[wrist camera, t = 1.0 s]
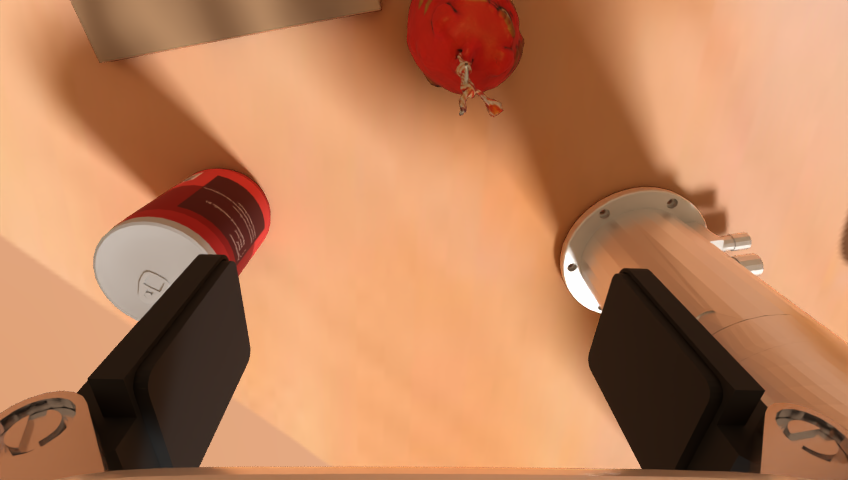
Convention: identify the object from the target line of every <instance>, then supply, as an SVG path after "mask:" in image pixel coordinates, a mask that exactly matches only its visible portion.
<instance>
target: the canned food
mask: <svg viewBox="0 0 848 480" xmlns="http://www.w3.org/2000/svg"><path fill="white" fill-rule="evenodd" d="M269 226H270V207H269V203H268V201H267V198H266V196H265V194H264V193H263V191H262V190H261V188H260V187H259V186H258V185H257V184H256V183H255V182H254V181H253V180H251V179H250V178H249V177H247V176H245V175H243V174H241V173H239V172H236V171H233V170H230V169H221V168H220V169H206V170H203V171H199V172H197V173H195V174H193V175H192V176H190V177H188V178H187V179H185V180H184V181H182V182H181V183H179V184H178V185H176V186H174V187H173V188H171V189H170V190H168V191H167V192H165V193H164V194H162V195H161V196H159V197H158V198H156V199H155V200H153V201H152V202H150V203H148V204H147V205H145V206H144V207H142V208H141V209H139V210H138V211H136V212H135V213H133V214H132V215H130V216H129V217H127V218H126V219H124V220H123V221H122V222H120V223H119V224H117V225H116V226H114V227H113V228H112V229H111V230H110V231H109V232H108V233H107V234H106V235H105V236H104V237H103V238H102V239H101V240H100V242H99V243H98V245H97V247H96V250H95V253H94V260H93V268H94V272H95V277H96V280H97V282H98V284H99V286H100V288H101V290H102V291H103V293H104V294H105V296H106V297H107V298H108V299H109V300H110V301H111V302H112V303H113V304H114V306H116V307H117V308H118V309H119V310H121V311H122V312H123V313H125V314H126V315H128V316H130V317H132V318H133V319H135V320H137V321H140V319H141V318H142V317H143V316H144V315H145V314H146V313H147V312H148V310H149V309H150V308H151V307H152V306H153V305H154V304H155V303H156V301H157V300H158V299H159V298H160V297H161V296H162V295H163V294H164V293H165V291H166V290H167V289H168V288H169V287H170V286H171V285H172V284H173V282H174V281H175V280H176V279H177V278H178V277H179V276H180V275H181V274H182V272H183V271H184V270H185V269H186V268H187V267H188V266H189V265H190V263H191V262H192V261H193V260H194V259H195V258H196V257H197V256H198V255H199V254H218V255H226V256H227V257H228V259H229V261H234V262H235V263H236V266H237V272H238V276H239V275H240V273H241V272H242V270H243V269H244V267H245V266H246V265H247V263H248V262H249V260H250V259H251V258H252V256H253V255H254V253H255V252H256V250H257V249H258V248H259V246H260V245H261V243H262V242H263V240H264V239H265V237H266V235H267V233H268V231H269Z"/></svg>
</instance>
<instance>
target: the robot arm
mask: <svg viewBox="0 0 848 480" xmlns="http://www.w3.org/2000/svg"><path fill="white" fill-rule="evenodd" d="M602 210H603V211H602ZM601 211H602V212H601ZM750 246H751V238H750V236H749V235H748V234H747V233H745V232H743V233H736V234H729V235H727V236H721V237H719V236H718V235H716V234H714V233H712V232H711V231H710V230H708V229H707V225H706V222H705V219H704V218H703V216H702V214H701V212H700V211H699V210H698V209H697V208H696V207H695V206H694V205H693V204H692V203H691V202H690V201H688V200H687V199H685V198H684V197H682V196H681V195H679V194H677V193H674V192H672V191H670V190H666V189H662V188H657V187H639V188H632V189H627V190H624V191H621V192H617V193H614V194H612V195H610V196H608V197H606V198H604V199H602V200H600V201H599V202H597V203H596V204H595V205H593V206H592V207H590V208H589V209H588V210H587V211H586V212H585V213H584V214H583V215H582V216H581V217H580V218H579V219H578V220H577V221H576V222H575V224H574V225H573V226H572V228H571V229H570V231H569V232H568V234H567V237H566V239H565V241H564V243H563V247H562V251H561V255H560V269H561V274H562V278H563V280H564V282H565V285H566V287H567V288H568V290H569V291H570V293H571V295H572V296H573V297H574V298H575V299H576V300H577V301H578V302H579V303H580V304H581V305H583V306H585V307H586V308H588V309H589V310H592V311H594V312H597V313H600V314H601V316H600V319H599V323H598V326H597V329H596V332H595V336H594V339H593V342H592V346H591V349H590V352H589V356H588V361H589V367H590V370H591V372H592V373H593V375H594V377H595V379H596V381H597V383H598V385H599V387H600V389H601V391H602V393H603V395H604V397H605V399H606V401H607V402H608V404H609V406H610V408H611V410H612V412H613V414H614V416H615V418H616V420H617V422H618V424H619V426H620V428H621V430H622V431H623V433H624V435H625V437H626V439H627V441H628V443H629V445H630V447H631V449H632V451H633V453H634V455H635V457H636V458H637V460H638V462H639V464H640V466H641V468H642V469H584V468H490V467H199V466H200V464H201V462H202V460H203V457H204V455H205V453H206V451H207V449H208V447H209V445H210V442H211V440H212V438H213V436H214V434H215V432H216V430H217V428H218V425H219V423H220V421H221V419H222V417H223V415H224V413H225V410H226V408H227V406H228V404H229V402H230V400H231V398H232V396H233V393H234V391H235V389H236V387H237V385H238V383H239V381H240V379H241V376H242V374H243V372H244V370H245V368H246V366H247V364H248V361H249V357H250V343H249V337H248V331H247V325H246V319H245V313H244V307H243V301H242V295H241V289H240V283H239V278H238V272H237V266H236V263H235V262H234V261H229V259H228V257H227V256H226V255H218V254H199V255H198V256H197V257H196V258H195V259H194V260H193V261H192V262H191V263H190V265H189V266H188V267H187V268H186V269H185V270H184V271H183V272H182V274H181V275H180V276H179V277H178V278H177V279H176V280H175V281H174V282H173V284H172V285H171V286H170V287H169V288H168V289H167V290H166V291H165V293H164V294H163V295H162V296H161V297H160V298H159V299H158V300H157V301H156V303H155V304H154V305H153V306H152V307H151V308H150V309H149V310H148V312H147V313H146V314H145V315H144V316H143V317H142V318H141V319H140V321H139V322H138V323H137V324H136V325H135V326H134V327H133V328H132V329H131V331H130V332H129V333H128V334H127V335H126V336H125V337H124V339H123V340H122V341H121V342H120V343H119V344H118V345H117V346H116V347H115V348H114V350H113V351H112V352H111V353H110V354H109V355H108V356H107V358H106V359H105V360H104V361H103V362H102V363H101V364H100V365H99V366H98V367H97V369H96V370H95V371H94V372H93V373H92V374H91V375H90V376H89V378H88V381H87V382H86V383H85V384H84V385H83V386H82V388H81V389H80V390H79V391H78V392H77V393H75V392H69V391H56V392H49V393H44V394H41V395H37V396H34V397H31V398H28V399H26V400H24V401H22V402H19V403H17V404H15V405H13V406H11V407H9V408H8V409H6V410H5V411H3V412H1V413H0V480H848V343H847V342H845V341H844V340H843V339H841V338H840V337H839V336H837V335H836V334H835V333H833V332H832V331H830V330H829V329H828V328H826V327H825V326H824V325H822V324H820V323H819V322H818V321H816V320H815V319H814V318H812V317H811V316H810V315H808V314H807V313H806V312H804V311H803V310H802V309H800V308H799V307H798V306H796V305H795V304H793V303H792V302H791V301H789V300H788V299H787V298H785V297H784V296H783V295H781V294H780V293H779V292H777V291H776V290H775V289H773V288H772V287H771V286H769V285H768V284H766V283H765V282H764V281H762V280H761V279H760V278H758V277H757V276H759V275H761V274H762V272H763V262H762V260H761V258H760V257H759V256H758V255H756V254H754V253H752V254H745V255H738V256H732V257H730V256H729V255H727V254H726V253H725V252H724V251H736V250H743V249H748V248H750Z"/></svg>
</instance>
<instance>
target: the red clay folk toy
mask: <svg viewBox="0 0 848 480" xmlns="http://www.w3.org/2000/svg"><path fill="white" fill-rule="evenodd" d="M407 28H408V34H407V44H408V47H409V50H410V52H411V54H412V56H413V58H414V60H415V62H416V64H417V65H418V67H419V68H420V69H421V70H422V72H423V73H424V75H425V76H426V78H427V80H428V81H429V82H430V83H431V84H432V85H434V86H436V87H443V88H445V89H447V90H449V91H450V92H453V93H457V94H461V98H460V101H459V105H460V113H459V115H460V116H461V115H463V113H465V112H466V109H467V107H466V101H467V99H466V98H468V97H470V98H473V97H474V96H475V94H477V95H478V96H480V97H481V98H482V100H483V101H484V102H485V104H486V107H487V110H488V112H489V115H490V116H493V117H494V116H496V115H498V114H499V113H501V112H502V111H503V109H502V104H501V103H500V102H498V101H496V100H494V99H489V98H488V97H487V96H486V95H485V94H484V93H483V92H484V91H486V90H490V89H493V88H495V87H497V86H498V85H500V84H501V83H502V82H504V81H505V80H506V79H507V78H508V77H509V76H510V74H511V73H512V72H513V71H514V70H515V68H516V67H517V65H518V63H519V61H520V58H521V55H522V50H523V46H524V39H523V38H522V36H521V34H520V32H519V19H518V15H517V12H516V9H515V7H514V4H513V3H512V1H511V0H412V2H411V5H410V8H409V14H408V24H407Z"/></svg>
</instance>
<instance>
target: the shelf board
mask: <svg viewBox="0 0 848 480" xmlns="http://www.w3.org/2000/svg"><path fill="white" fill-rule="evenodd" d="M70 1H71V3H72V5H73V8H74V10H75V12H76V14H77V16H78V18H79V20H80V22H81V24H82V27H83V29H84V31H85V33H86V35H87V37H88V39H89V41H90V43H91V46H92V48H93V50H94V52H95V54H96V56H97V58H98V60H99V62H100V63H102V62H111V61H116V60H121V59H126V58H132V57H137V56H142V55H148V54H153V53H158V52H163V51H169V50H174V49H179V48H184V47H190V46H195V45H200V44H205V43H211V42H216V41H221V40H226V39H232V38H237V37H242V36H247V35H253V34H258V33H263V32H268V31H274V30H279V29H284V28H289V27H295V26H300V25H305V24H310V23H316V22H321V21H326V20H331V19H337V18H342V17H347V16H352V15H358V14H363V13H368V12H374V11H379V10H382V9H381V3H380V0H70Z"/></svg>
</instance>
